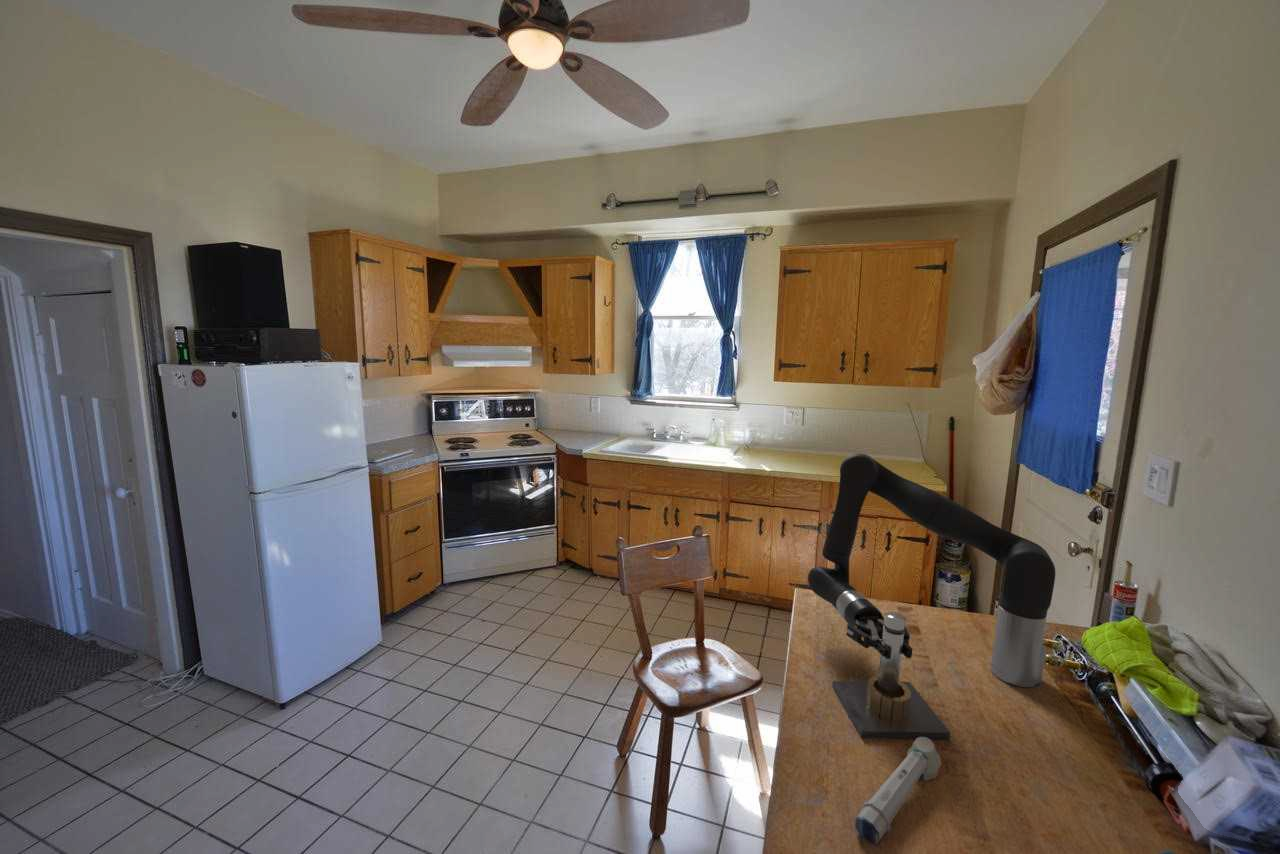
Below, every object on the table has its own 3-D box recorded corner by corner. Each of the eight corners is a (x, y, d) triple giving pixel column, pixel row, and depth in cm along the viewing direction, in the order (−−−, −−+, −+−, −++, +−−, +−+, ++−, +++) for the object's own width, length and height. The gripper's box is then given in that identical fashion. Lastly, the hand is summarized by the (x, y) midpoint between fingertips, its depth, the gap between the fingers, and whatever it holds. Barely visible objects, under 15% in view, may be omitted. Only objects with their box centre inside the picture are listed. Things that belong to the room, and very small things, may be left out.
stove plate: (908, 687, 120) (911, 666, 119) (949, 739, 104) (952, 714, 103) (832, 686, 120) (833, 665, 119) (861, 738, 104) (863, 713, 103)
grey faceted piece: (850, 809, 84) (917, 722, 99) (850, 841, 85) (915, 750, 100) (882, 832, 80) (946, 737, 95) (881, 865, 81) (945, 767, 96)
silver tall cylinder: (892, 678, 113) (900, 611, 110) (901, 691, 109) (909, 621, 106) (874, 678, 113) (881, 611, 110) (882, 690, 109) (890, 621, 106)
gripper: (831, 598, 122) (868, 639, 106) (888, 597, 124) (934, 637, 107) (828, 627, 124) (865, 672, 107) (885, 625, 125) (930, 669, 108)
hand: (899, 654), depth 107 cm, fingers closed on silver tall cylinder, 4 cm apart
